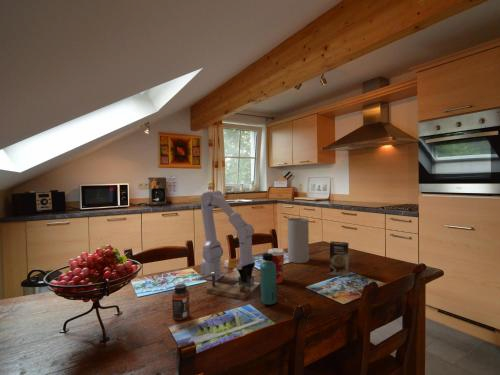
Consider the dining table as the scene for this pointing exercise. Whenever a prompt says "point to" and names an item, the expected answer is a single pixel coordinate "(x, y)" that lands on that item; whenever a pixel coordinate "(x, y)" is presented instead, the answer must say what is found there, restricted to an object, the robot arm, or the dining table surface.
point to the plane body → (228, 290)
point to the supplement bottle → (180, 302)
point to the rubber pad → (250, 287)
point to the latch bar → (207, 275)
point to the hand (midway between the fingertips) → (246, 280)
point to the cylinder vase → (298, 240)
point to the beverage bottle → (268, 280)
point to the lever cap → (249, 281)
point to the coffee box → (339, 258)
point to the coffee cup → (278, 262)
